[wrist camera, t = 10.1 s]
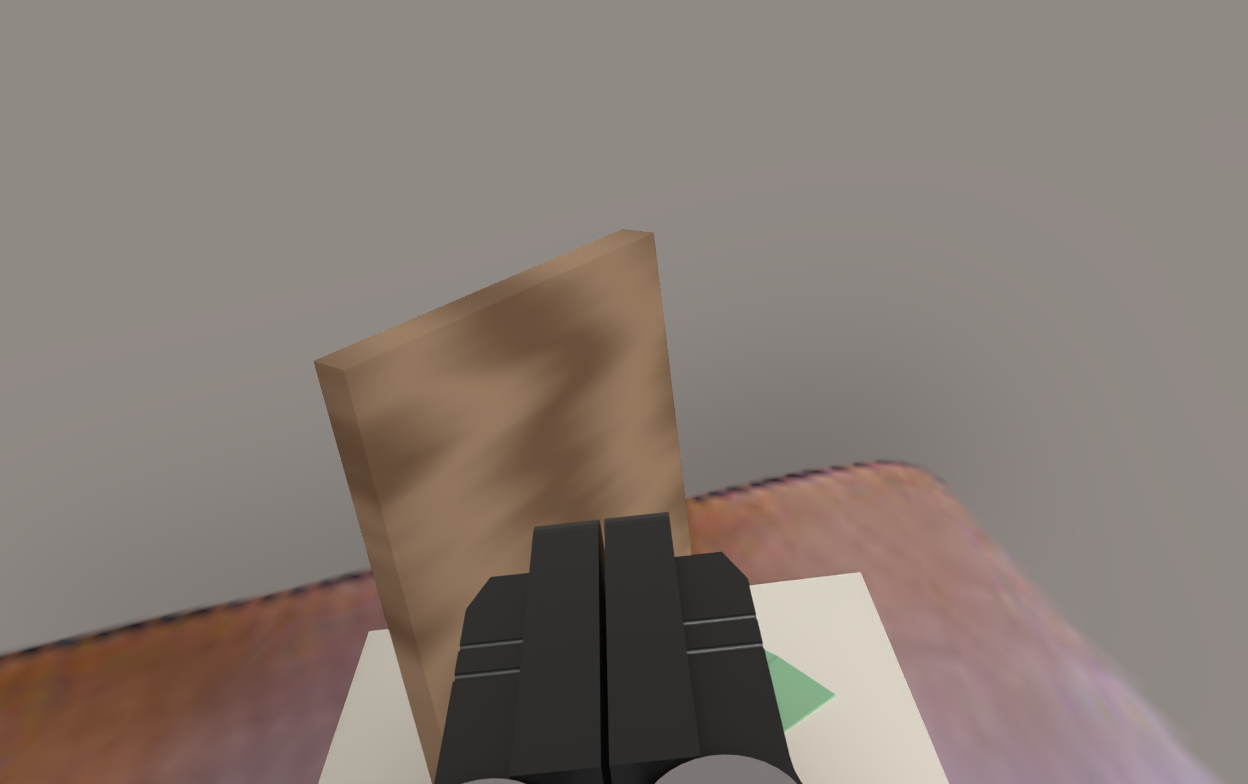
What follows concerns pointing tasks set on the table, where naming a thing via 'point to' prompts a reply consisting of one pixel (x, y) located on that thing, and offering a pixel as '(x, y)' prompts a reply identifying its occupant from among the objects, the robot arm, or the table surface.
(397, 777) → the plate
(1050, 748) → the table surface
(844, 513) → the table surface
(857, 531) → the table surface
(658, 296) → the brown flat streaked slab
